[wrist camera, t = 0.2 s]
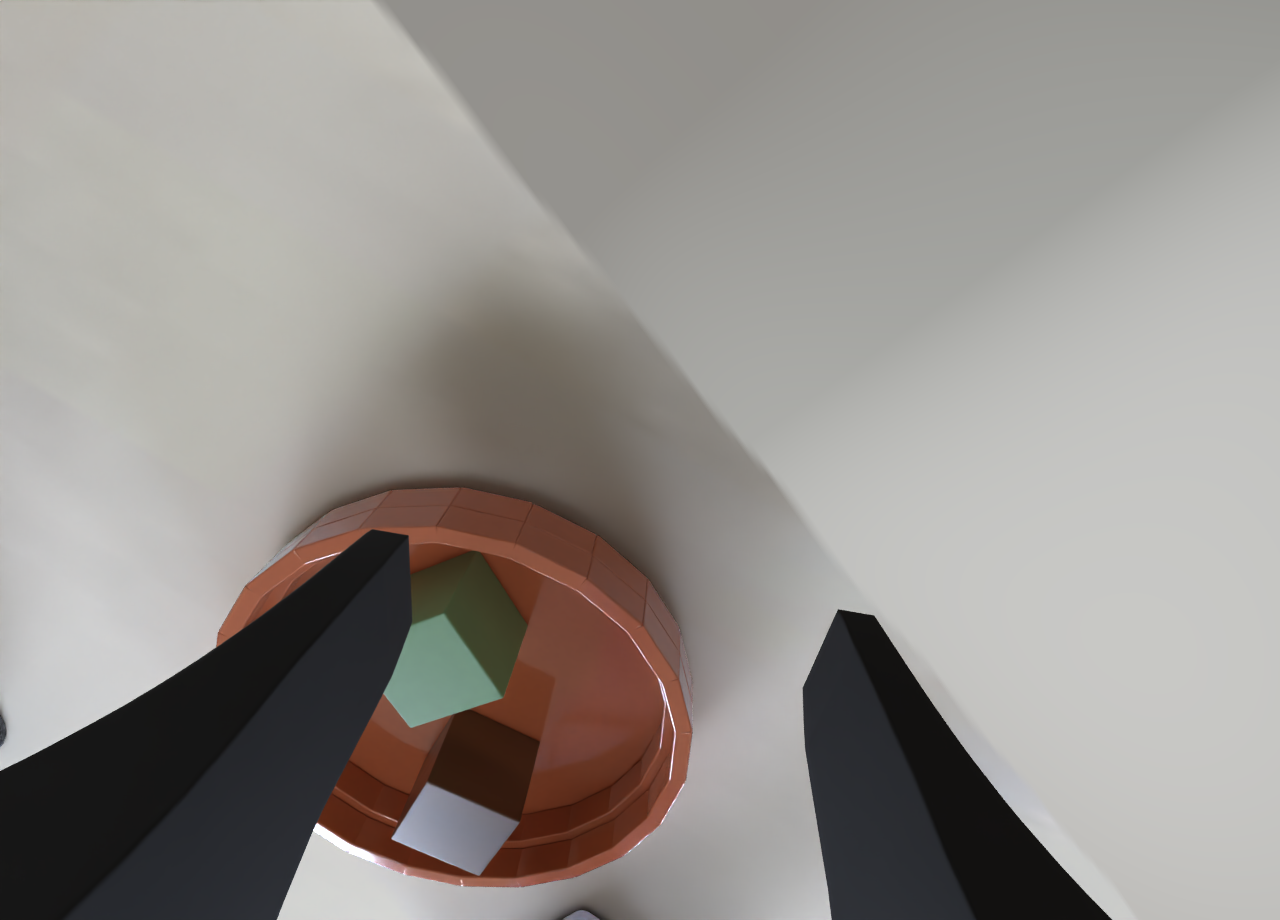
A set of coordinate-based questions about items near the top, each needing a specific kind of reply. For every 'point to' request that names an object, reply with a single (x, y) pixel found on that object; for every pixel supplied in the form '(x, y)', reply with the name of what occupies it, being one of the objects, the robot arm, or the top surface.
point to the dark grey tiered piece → (2, 732)
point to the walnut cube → (468, 792)
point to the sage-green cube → (455, 641)
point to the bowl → (518, 686)
